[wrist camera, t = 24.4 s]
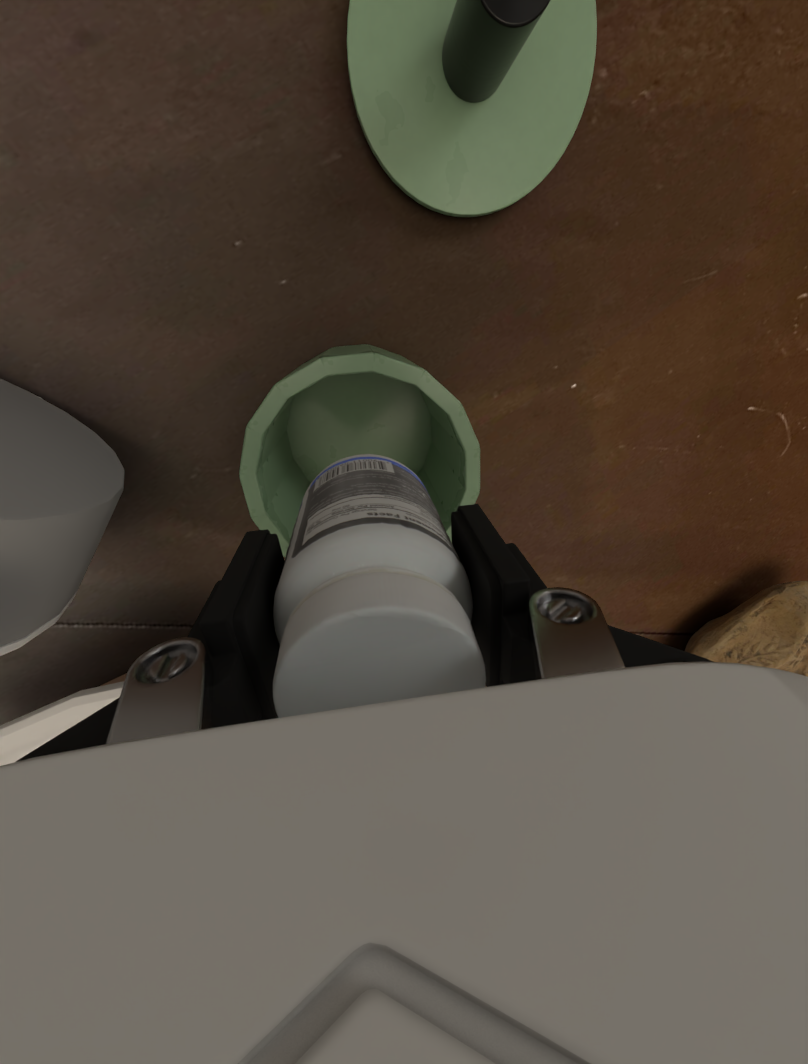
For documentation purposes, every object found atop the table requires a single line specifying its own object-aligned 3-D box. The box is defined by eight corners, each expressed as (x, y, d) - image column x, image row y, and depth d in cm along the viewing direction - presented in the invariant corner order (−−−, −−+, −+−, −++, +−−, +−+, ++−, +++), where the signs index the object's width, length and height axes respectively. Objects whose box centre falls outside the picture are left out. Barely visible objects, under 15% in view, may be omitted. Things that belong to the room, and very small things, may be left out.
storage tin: (296, 516, 28) (272, 595, 20) (260, 353, 24) (208, 368, 15) (443, 498, 29) (480, 568, 21) (436, 337, 24) (480, 341, 16)
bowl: (380, 737, 40) (389, 865, 30) (164, 825, 42) (109, 969, 32) (235, 546, 29) (178, 652, 20) (-44, 678, 31) (-216, 829, 22)
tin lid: (364, 228, 22) (367, 191, 16) (327, -118, 16) (313, -365, 11) (572, 211, 22) (649, 170, 16) (600, -127, 17) (727, -362, 11)
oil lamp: (810, 560, 36) (924, 618, 28) (738, 686, 42) (817, 759, 35) (695, 561, 34) (785, 623, 27) (640, 691, 41) (701, 768, 34)
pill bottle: (393, 586, 17) (427, 799, 9) (281, 541, 15) (210, 751, 8) (455, 486, 15) (558, 647, 7) (335, 425, 13) (314, 549, 6)
